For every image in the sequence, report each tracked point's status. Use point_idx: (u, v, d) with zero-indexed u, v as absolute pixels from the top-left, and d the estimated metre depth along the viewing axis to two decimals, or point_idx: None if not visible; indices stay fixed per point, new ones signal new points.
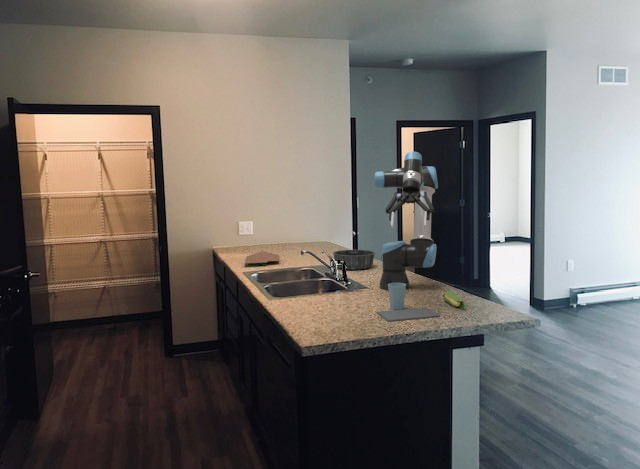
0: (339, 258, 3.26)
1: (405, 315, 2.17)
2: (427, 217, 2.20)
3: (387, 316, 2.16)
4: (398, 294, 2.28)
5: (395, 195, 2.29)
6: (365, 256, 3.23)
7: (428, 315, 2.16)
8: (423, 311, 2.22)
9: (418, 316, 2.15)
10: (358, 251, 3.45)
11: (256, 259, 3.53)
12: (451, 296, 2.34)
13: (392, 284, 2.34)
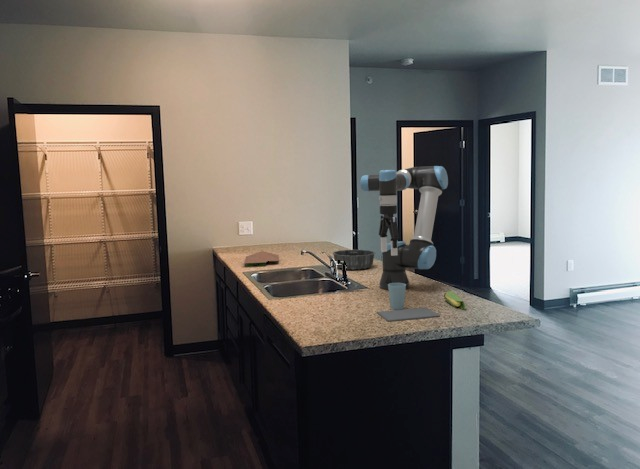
0: (339, 258, 3.26)
1: (405, 315, 2.17)
2: (393, 246, 2.31)
3: (387, 316, 2.16)
4: (398, 294, 2.28)
5: (381, 219, 2.43)
6: (365, 256, 3.23)
7: (428, 315, 2.16)
8: (423, 311, 2.22)
9: (418, 316, 2.15)
10: (358, 251, 3.45)
11: (255, 259, 3.53)
12: (451, 296, 2.34)
13: (392, 284, 2.34)
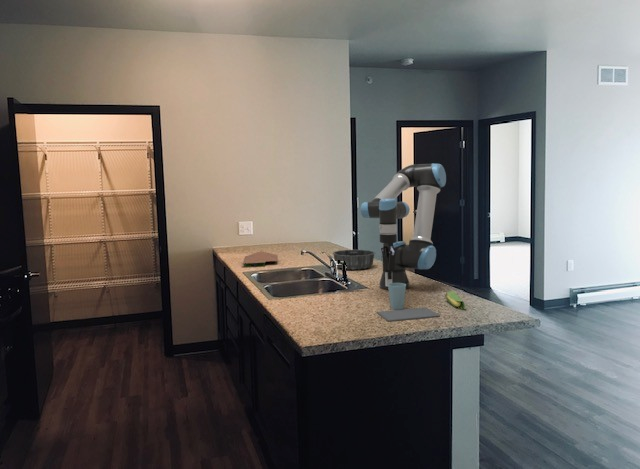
0: (339, 258, 3.26)
1: (405, 315, 2.17)
2: (388, 278, 2.39)
3: (387, 316, 2.16)
4: (398, 294, 2.28)
5: (382, 251, 2.43)
6: (365, 256, 3.23)
7: (428, 315, 2.16)
8: (423, 311, 2.22)
9: (418, 316, 2.15)
10: (358, 251, 3.45)
11: (254, 259, 3.53)
12: (452, 296, 2.34)
13: (392, 284, 2.34)
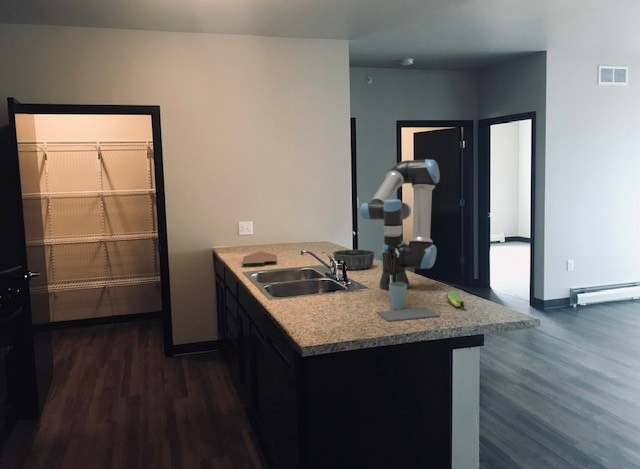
0: (339, 258, 3.26)
1: (405, 315, 2.17)
2: (392, 280, 2.33)
3: (387, 316, 2.16)
4: (399, 295, 2.27)
5: (386, 253, 2.37)
6: (365, 256, 3.23)
7: (428, 315, 2.16)
8: (423, 311, 2.22)
9: (418, 316, 2.15)
10: (358, 251, 3.45)
11: (253, 259, 3.52)
12: (453, 296, 2.34)
13: (393, 283, 2.33)
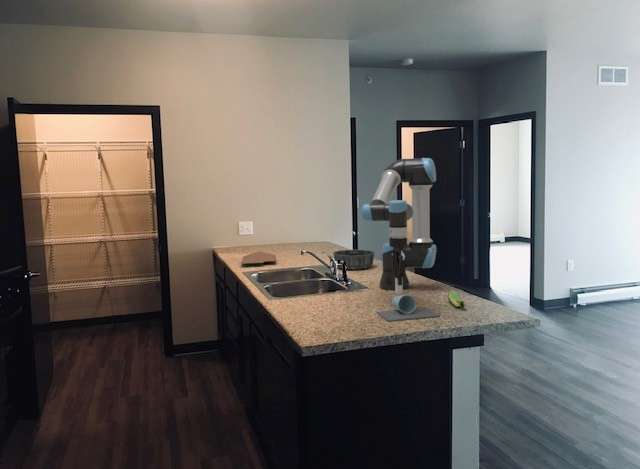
0: (339, 258, 3.26)
1: (405, 315, 2.17)
2: (398, 283, 2.27)
3: (387, 316, 2.16)
4: None
5: (391, 255, 2.31)
6: (365, 256, 3.23)
7: (428, 315, 2.16)
8: (423, 311, 2.22)
9: (418, 316, 2.15)
10: (358, 251, 3.45)
11: (253, 259, 3.52)
12: (453, 296, 2.33)
13: (403, 296, 2.19)
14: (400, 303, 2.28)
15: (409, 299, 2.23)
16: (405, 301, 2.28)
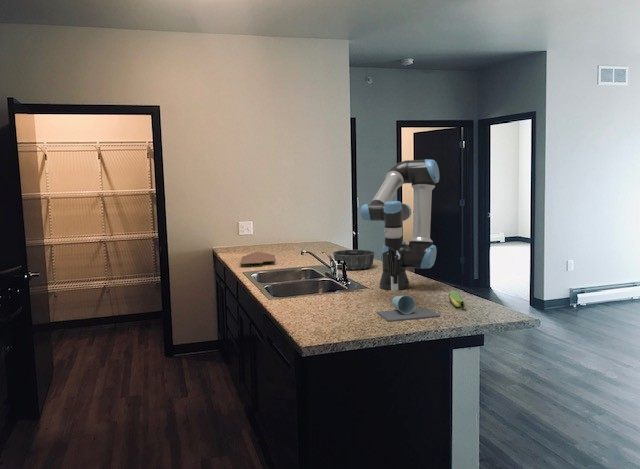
0: (339, 258, 3.26)
1: (405, 315, 2.17)
2: (393, 282, 2.33)
3: (387, 316, 2.16)
4: None
5: (387, 254, 2.38)
6: (365, 256, 3.23)
7: (428, 315, 2.16)
8: (423, 311, 2.22)
9: (418, 316, 2.15)
10: (358, 251, 3.45)
11: (252, 259, 3.52)
12: (454, 296, 2.33)
13: (402, 296, 2.19)
14: (400, 303, 2.28)
15: (408, 299, 2.23)
16: (405, 301, 2.27)
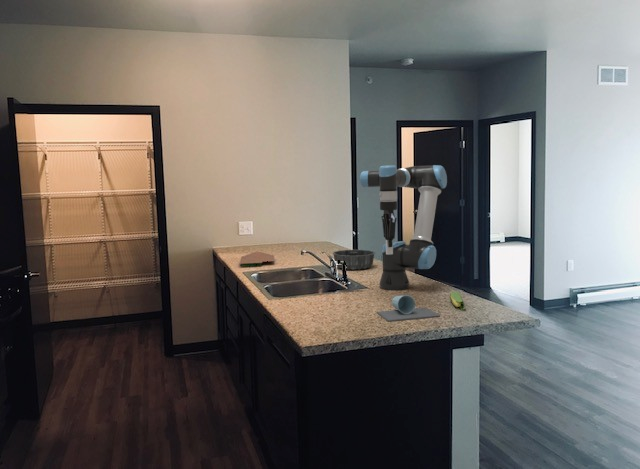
0: (339, 258, 3.26)
1: (405, 315, 2.17)
2: (388, 245, 2.36)
3: (387, 316, 2.16)
4: None
5: (382, 219, 2.41)
6: (365, 256, 3.23)
7: (428, 315, 2.16)
8: (423, 311, 2.22)
9: (418, 316, 2.15)
10: (358, 251, 3.45)
11: (251, 259, 3.52)
12: (454, 296, 2.33)
13: (402, 296, 2.19)
14: (400, 303, 2.28)
15: (408, 299, 2.23)
16: (405, 301, 2.27)
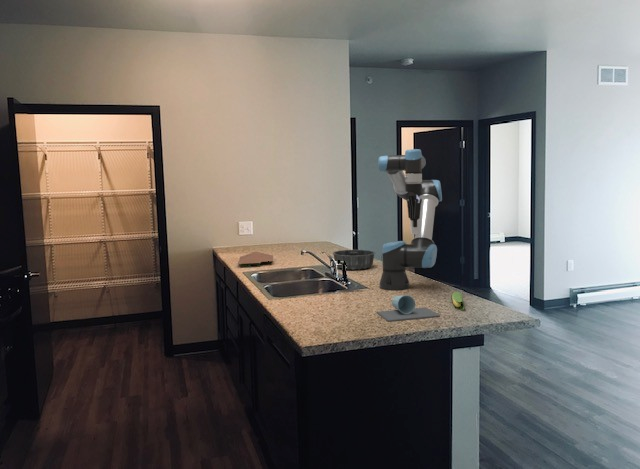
0: (339, 258, 3.26)
1: (405, 315, 2.17)
2: (413, 226, 2.49)
3: (387, 316, 2.16)
4: None
5: (407, 201, 2.53)
6: (365, 256, 3.23)
7: (428, 315, 2.16)
8: (423, 311, 2.22)
9: (418, 316, 2.15)
10: (358, 251, 3.45)
11: (250, 260, 3.52)
12: (455, 296, 2.33)
13: (402, 296, 2.19)
14: (400, 303, 2.28)
15: (408, 299, 2.23)
16: (405, 301, 2.27)
